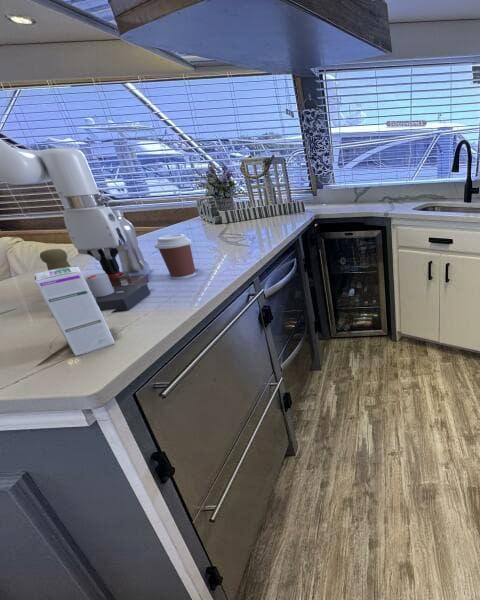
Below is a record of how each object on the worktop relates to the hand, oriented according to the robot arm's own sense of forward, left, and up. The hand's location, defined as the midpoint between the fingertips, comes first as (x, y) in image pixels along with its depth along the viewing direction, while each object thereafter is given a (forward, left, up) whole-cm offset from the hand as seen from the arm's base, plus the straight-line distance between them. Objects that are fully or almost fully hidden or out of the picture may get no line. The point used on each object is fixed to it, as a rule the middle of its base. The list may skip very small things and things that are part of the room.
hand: (113, 273), depth 87 cm
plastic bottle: (0, +11, -5) cm, 12 cm away
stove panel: (+4, -13, -5) cm, 14 cm away
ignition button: (0, 0, -2) cm, 2 cm away
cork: (-16, +7, -5) cm, 18 cm away
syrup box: (+13, -35, -5) cm, 38 cm away
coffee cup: (+14, +7, -5) cm, 16 cm away
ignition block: (0, 0, -5) cm, 5 cm away
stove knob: (+4, -13, -2) cm, 14 cm away
